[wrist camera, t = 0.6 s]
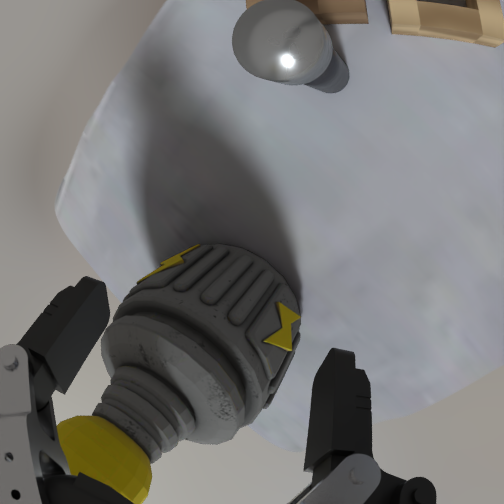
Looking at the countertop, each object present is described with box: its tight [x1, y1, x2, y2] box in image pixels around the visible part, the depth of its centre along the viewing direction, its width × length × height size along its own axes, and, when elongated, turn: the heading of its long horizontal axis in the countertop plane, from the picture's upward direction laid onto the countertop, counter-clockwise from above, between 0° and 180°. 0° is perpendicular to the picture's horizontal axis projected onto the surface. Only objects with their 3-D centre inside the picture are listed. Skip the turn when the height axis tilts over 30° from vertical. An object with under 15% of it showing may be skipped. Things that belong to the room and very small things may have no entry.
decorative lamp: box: [57, 244, 301, 504], centre depth 27 cm, size 19×19×30 cm
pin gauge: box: [232, 0, 349, 93], centre depth 19 cm, size 4×4×15 cm
